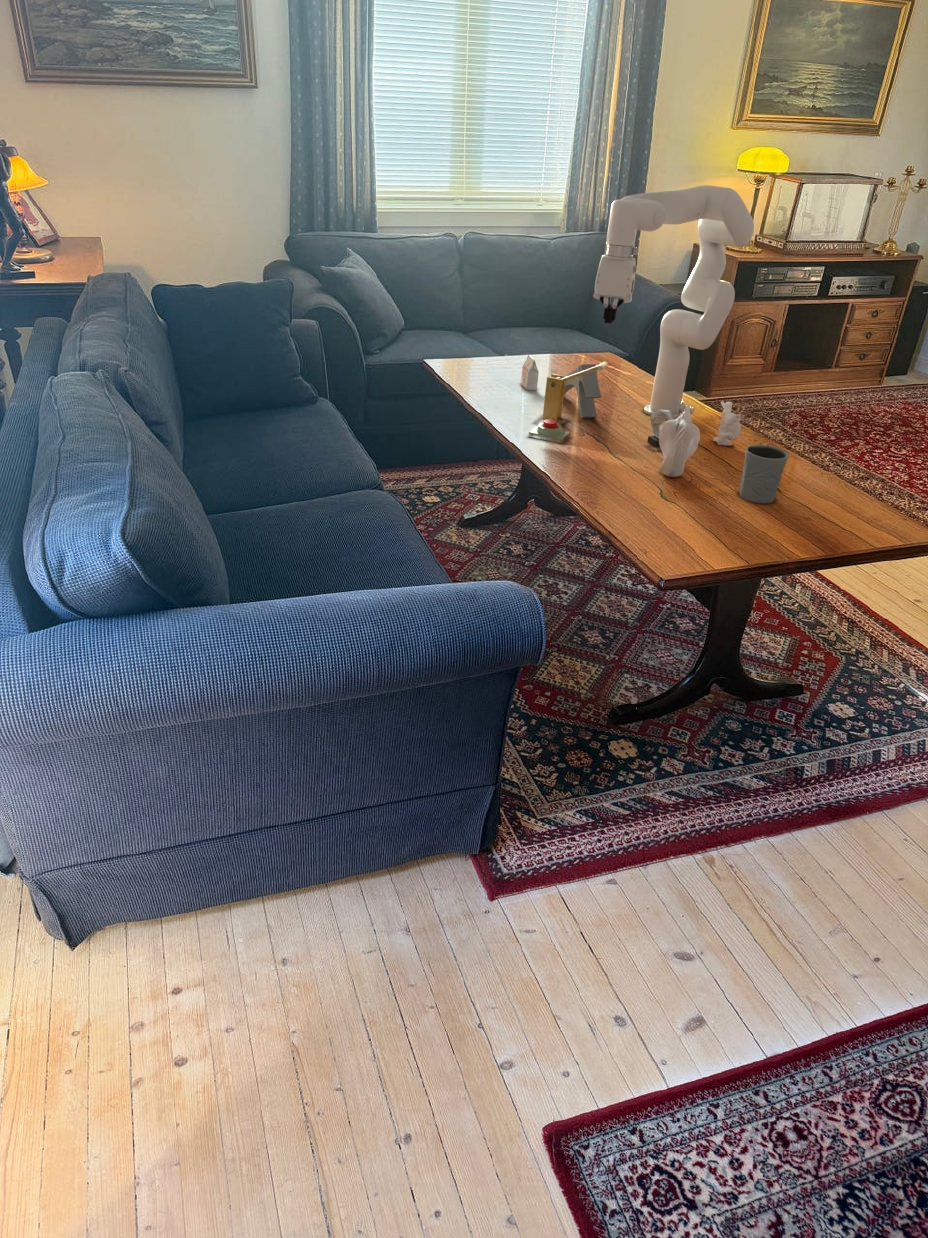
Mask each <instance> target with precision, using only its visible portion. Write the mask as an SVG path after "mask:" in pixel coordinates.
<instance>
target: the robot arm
mask: <svg viewBox="0 0 928 1238" xmlns="http://www.w3.org/2000/svg"><path fill="white" fill-rule="evenodd" d="M608 219H609V220H608V225H607V234H606V240H605V248H604V254H603V255H601V258H600V261H599V264H598V268H597V272H596V275H595V281H594V289H593V291H594V292H593V294H592V297H593V299H596V300H599V302H601V304H602V305H603V308H604V310H603V311H604V312H603V320H604V324H609V325H611V324H613V323H614V321H615V320H616V319H617V312H618V308H619V307H620V306H622V304H629V303H632V301H633V293H634V291H635V282H636V281H635V280H636V269H637V268H636V257H634V256H635V255H639V253H640V248H637V247H636V246H635V245H636V238H637V231H642V232H647V233H648V232H650V233H651V232H655V231H657V230H659V229H660V228H662V226H663V225H682V224H687V223H691V222H695V221H698V223H697V236H698V242H699V255H698V259H697V261H696V262H695V264H694V265H695V266H694V267H693V269H692V271H691V273H690V275H689V277H688V279H687V281H686V283H685V285H684V287H683V289H682V292H681V296H680V301H681V303H682V305H683V306H684V307H686V308H689V309H691V310H695V311H699V312H702V313H703V314H701V313H697V312H693V311H690V310H685V309H680V308H679V309H678V308H677V309H671V310H669V311H667V312H666V313H665V314H664V315H663V317H662V319H661V322H660V328H659V333H660V334H659V336H660V337H659V338H660V341H659V351H658V357H657V363H656V368H655V373H654V378H653V379H654V380H653V385H652V391H651V396H650V401H649V404H646V405H645V406H644V409H643V411H644V413H645V414H646V415H648V416H650V417H651V416H652V414H653V413H655V412H656V411H658V410H661V409H664V410H669V411H671V412H672V413H673V415H674V420H675V419H677V418H678V417H679V416H680V415H681V414H682V411H683V416H684V409H685V410H686V405H687V406H690V414H692V415H693V414H694V412H695V407H693V406H692V405H689V404H685V403H684V401H685V400H684V399H683V395H684V391H685V390H684V389H685V385H686V380H687V375H688V370H689V366H690V351H689V348H692V349H695V350H701V351H703V350H706V349H709V348H710V347H711V346H712V345H713V343H714V342H715V341H716V339H717V337H718V335H719V334H720V331H721V330H722V327H723V326H724V323H725V322H726V321H727V318H728V316H729V314H730V312H731V310H732V308H733V305H734V303H735V298H736V290H735V288H734V286H733V285H732V284H731V282H729V281H726V280H722V279H721V278H722V276H723V274H724V272H725V270H726V267H727V266H726V265H727V255H726V251H725V249H724V246H729V247H734V248H741V247H744V246H745V245H747V244H749V242H750V241H751V239H752V237H753V236H754V232H755V222H754V219H753V217H752V215H751V213H750V211H749V209H748V207H747V206H746V203H745V202H744V200H743V199H742V197H741V195H740V194H739V192H737V191H736V190H735V189H734V188H731V187H723V186H717V185H708V184H707V185H706V184H705V185H698V186H695V187H694V186H693V187H689V188H683V189H677V190H666V191H655V192H643V193H636V194H630V195H625V196H624V197H622V198H621V199H615V200H613V202H612V203H611V206H610V212H609V218H608ZM612 297H613V301H612V300H611V298H612ZM611 301H612V304H611Z"/></svg>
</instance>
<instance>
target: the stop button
mask: <svg viewBox="0 0 928 1238" xmlns="http://www.w3.org/2000/svg"><path fill="white" fill-rule="evenodd" d="M542 423H543V427H545V428H549V429H555V428H557V424H559V423H558V420H557V421H556V420H552V419H543V422H542Z"/></svg>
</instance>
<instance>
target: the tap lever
mask: <svg viewBox="0 0 928 1238" xmlns="http://www.w3.org/2000/svg"><path fill="white" fill-rule="evenodd" d="M608 365H609V363H608V361H603V362H602V363H600V364H598V365H596V366H595V367H593V368H590V369H587V370H584V371H582V372H579V373H576V374H573V375H570V376H568V377H565V378H562V382H565V381H568V380H571V379H573V378H576V377H579V376H582V375H585V374H587V373H590V372H593V371H596V370H597V371H602V370H604V369H605V368H606V367H608ZM557 378H559V379H561V378H560V377H557ZM561 385H562V384H561Z"/></svg>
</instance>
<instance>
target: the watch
mask: <svg viewBox="0 0 928 1238" xmlns="http://www.w3.org/2000/svg"><path fill="white" fill-rule="evenodd" d="M649 420H650V427H651V430H652V433H653V435H648V436H647V441H646V442H647V443H648V444H650V445H651V446H653V447H655V448H660V445H659V431H660V426H661V425H662V424H663V423H664V422H666V420H667V421H670V420H675V419H674V415H673V413H672V412H671V411H669V410H664V409H661V410H658V411H656V412H655V413H653V414H652V416H650V417H649Z"/></svg>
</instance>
